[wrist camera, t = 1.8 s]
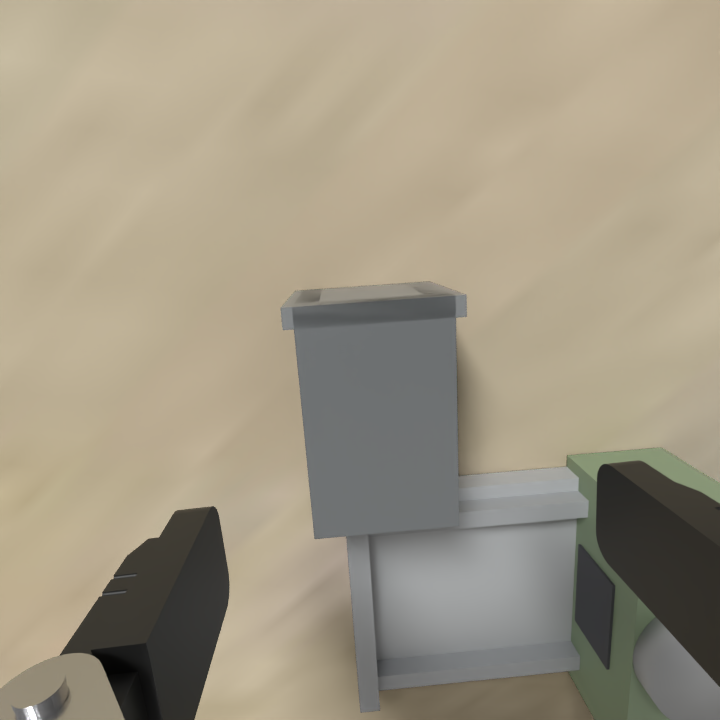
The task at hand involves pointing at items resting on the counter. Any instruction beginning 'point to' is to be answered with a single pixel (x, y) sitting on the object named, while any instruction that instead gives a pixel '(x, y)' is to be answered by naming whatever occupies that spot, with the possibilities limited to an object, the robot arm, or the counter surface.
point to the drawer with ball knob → (523, 598)
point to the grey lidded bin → (379, 405)
